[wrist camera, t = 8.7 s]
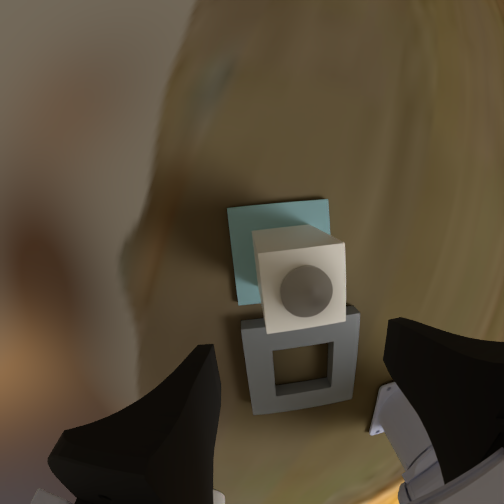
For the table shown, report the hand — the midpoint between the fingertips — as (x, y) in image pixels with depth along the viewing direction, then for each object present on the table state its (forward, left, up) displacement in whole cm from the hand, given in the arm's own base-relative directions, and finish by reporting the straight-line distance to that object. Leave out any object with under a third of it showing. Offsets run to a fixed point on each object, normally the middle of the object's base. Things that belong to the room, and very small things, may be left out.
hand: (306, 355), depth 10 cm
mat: (-1, -2, -10) cm, 10 cm away
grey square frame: (-2, +8, -10) cm, 13 cm away
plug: (-1, -2, -10) cm, 10 cm away
